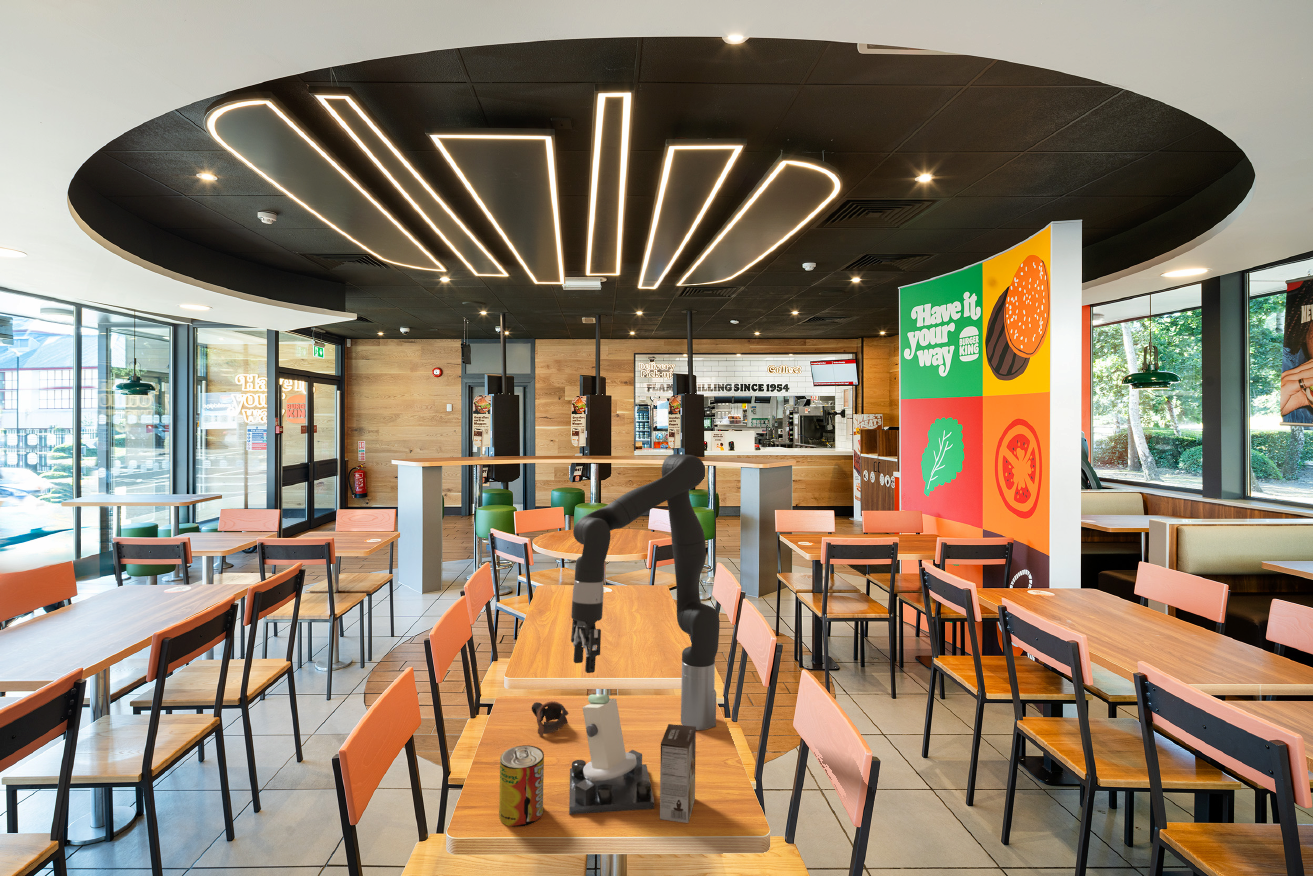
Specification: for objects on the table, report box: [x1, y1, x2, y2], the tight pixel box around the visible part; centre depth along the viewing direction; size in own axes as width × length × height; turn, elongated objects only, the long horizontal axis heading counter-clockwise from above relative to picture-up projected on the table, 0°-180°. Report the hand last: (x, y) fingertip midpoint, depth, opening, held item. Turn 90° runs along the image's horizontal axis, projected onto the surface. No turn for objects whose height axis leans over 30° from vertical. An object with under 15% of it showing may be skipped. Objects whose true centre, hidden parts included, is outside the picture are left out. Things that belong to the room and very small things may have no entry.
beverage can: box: [498, 744, 545, 828], centre depth 127 cm, size 9×9×12 cm
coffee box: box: [659, 723, 697, 824], centre depth 129 cm, size 9×6×16 cm
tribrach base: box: [568, 749, 655, 815], centre depth 135 cm, size 18×16×5 cm
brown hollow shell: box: [531, 700, 569, 737], centre depth 164 cm, size 12×10×8 cm
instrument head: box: [582, 693, 637, 783], centre depth 137 cm, size 12×12×17 cm
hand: (583, 667), depth 147 cm, fingers open, 8 cm apart
